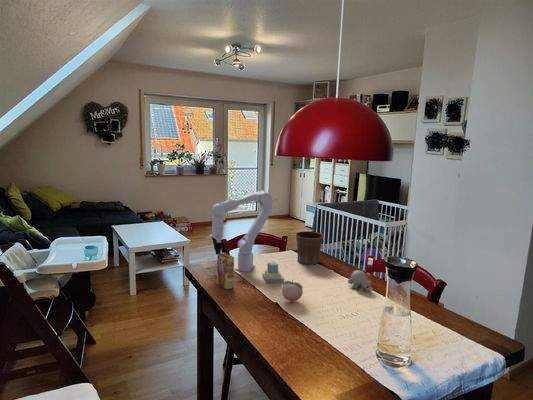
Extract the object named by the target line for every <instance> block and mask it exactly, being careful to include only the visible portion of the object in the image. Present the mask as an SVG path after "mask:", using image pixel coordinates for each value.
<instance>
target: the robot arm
mask: <svg viewBox="0 0 533 400" xmlns="http://www.w3.org/2000/svg"><path fill="white" fill-rule="evenodd" d="M273 199H274V198H273V197H272V195H271V193H269V192H267V191H266V190H262V189H260V190H259V191H254V192H252V193H249V194H247V195H245V196H241V197H239V198H237V199H235V198H228V199H227V200H225V201H220V202H219V203H214V204H213V206H212V208H211V212H212V220H211V221H212V222H211V223H212V224H211V234H209V237H210V238H211V240H212V244H213V249H214V252H215V255H217V254H219V253H222V248H223V245H224V244H225V241H222V239H223V237H224V214H226V213H229V212H232V211H234V210H237V209H238V207H239V206H242V205H246V204H248V203H252V202H255V203H259V205H260V208H261V210H260V212H259V213H258V215H257V217H256V218H255V219H254V222H253V223H252V225H251V227H250V228H249V230H248V231H247V233H246V234H245V235H243V237H242V238H241V239H240V240H238V242H237V248H239V249H238V252H237V267H234V271H235V270H236V271H240V272H241V271H242V272H248V273H249V272H250V271H251V270H252V269H254V267H255V264H254V253H253V247H254V245H255V240H256V238H257V236H258V235H259V233H260V232H261V230H262V228H263V226H264V225H265V223H266V222H267V220H268V218H269V217H270V215H271V214H272V212H273V203H274V200H273Z"/></svg>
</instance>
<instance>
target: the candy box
mask: <svg viewBox="0 0 533 400" xmlns="http://www.w3.org/2000/svg"><path fill="white" fill-rule="evenodd" d="M216 255H217V260H216V261H217V263H216V264H217V267H216V269H217V272H216V274H217V275H216V278H217V280H216V283H217V285H219V286H220V287H222V288H223V289H226V290H230V289H233V288H234V283H235V282H234V280H235V257H234V256H233V255H230V254H228V253H226V252H221V253H219V254H216Z"/></svg>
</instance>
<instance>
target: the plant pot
mask: <svg viewBox="0 0 533 400" xmlns="http://www.w3.org/2000/svg"><path fill="white" fill-rule="evenodd" d="M295 237H296V238H295V239H296V245H297V246H296V247H297V261H298V263H300V264H304V265H306V264H307V265H308V266H309V265H311V266H312V265H316V264H318V263H319V261H320V255H321V247H322V243H323V240H324V239H323V238H324V237H325V235H324V234H323V233H320V232H316V231H310V230H309V231H307V230H306V231H303V230H302V231H297V232H296V233H295Z"/></svg>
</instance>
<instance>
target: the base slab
mask: <svg viewBox="0 0 533 400" xmlns="http://www.w3.org/2000/svg"><path fill="white" fill-rule="evenodd" d="M261 276H262V278H263V280H264V282H265V284H266V285H267V284H279V283H280V284H281V283H282V284H284V283H283V282H284V281H285V278H284V276H283V275H282V273H281V272H280V279H266V276H265V272H262V275H261Z"/></svg>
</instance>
